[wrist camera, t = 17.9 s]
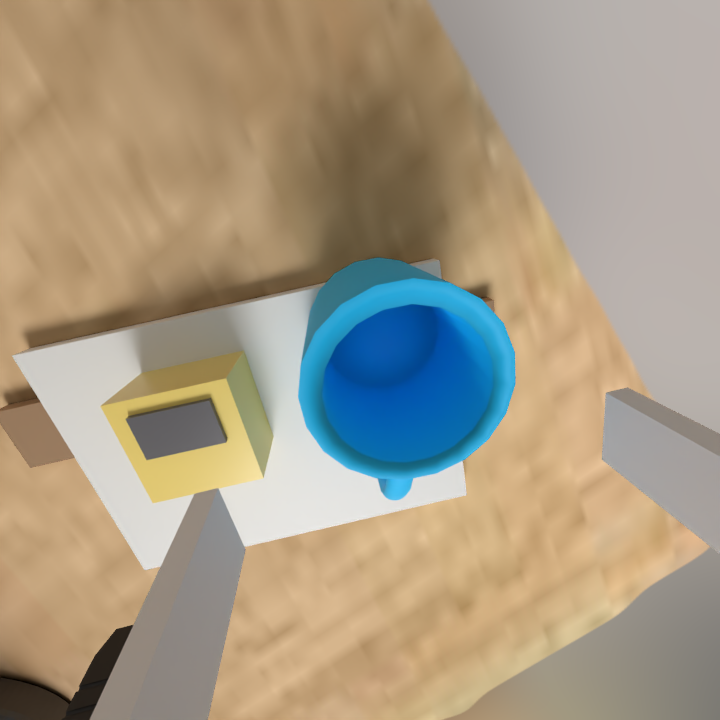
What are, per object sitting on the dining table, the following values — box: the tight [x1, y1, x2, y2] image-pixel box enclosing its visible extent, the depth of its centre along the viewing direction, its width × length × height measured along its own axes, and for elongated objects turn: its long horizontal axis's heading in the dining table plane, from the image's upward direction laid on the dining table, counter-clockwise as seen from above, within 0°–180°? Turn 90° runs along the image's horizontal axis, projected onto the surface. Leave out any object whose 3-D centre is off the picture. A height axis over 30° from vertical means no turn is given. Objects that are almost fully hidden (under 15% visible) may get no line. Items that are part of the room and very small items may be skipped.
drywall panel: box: [0, 259, 494, 570], centre depth 23 cm, size 30×17×1 cm, turn 102°
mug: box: [298, 258, 515, 500], centre depth 17 cm, size 12×8×8 cm
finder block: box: [100, 351, 274, 503], centre depth 19 cm, size 6×6×4 cm
